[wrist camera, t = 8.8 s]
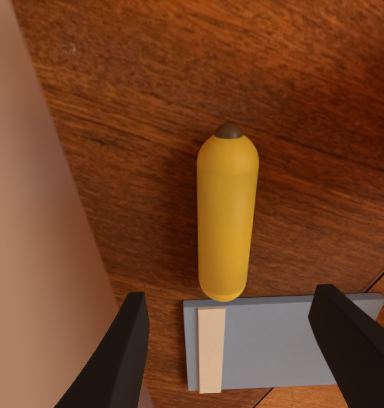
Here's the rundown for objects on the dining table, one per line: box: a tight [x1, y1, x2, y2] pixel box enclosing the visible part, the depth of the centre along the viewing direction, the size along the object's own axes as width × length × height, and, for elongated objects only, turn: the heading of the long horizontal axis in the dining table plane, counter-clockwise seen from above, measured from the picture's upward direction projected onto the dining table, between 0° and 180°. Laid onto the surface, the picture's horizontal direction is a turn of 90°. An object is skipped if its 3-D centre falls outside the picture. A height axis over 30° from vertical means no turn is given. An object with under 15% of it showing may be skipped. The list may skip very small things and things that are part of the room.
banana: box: [197, 123, 259, 302], centre depth 17 cm, size 14×4×4 cm, turn 1°
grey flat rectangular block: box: [183, 293, 384, 393], centre depth 26 cm, size 18×14×1 cm
